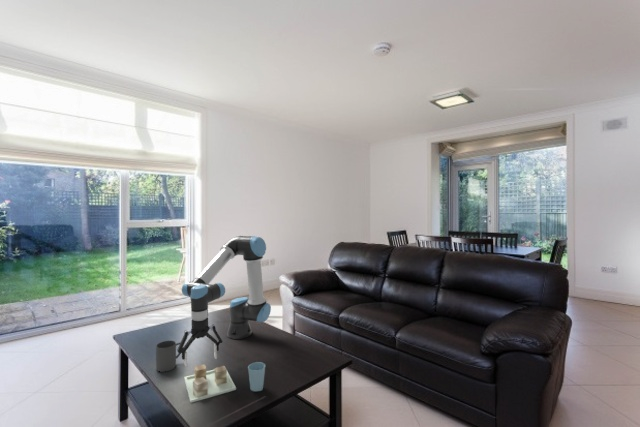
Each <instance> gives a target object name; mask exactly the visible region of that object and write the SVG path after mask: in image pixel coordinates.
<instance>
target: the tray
mask: <svg viewBox="0 0 640 427" xmlns="http://www.w3.org/2000/svg"><path fill="white" fill-rule="evenodd" d="M183 379H184V380H183V381H184V384H185V388H186V390H187V396H188V398H189V402H190V404H192V403H195V402H198V401H202V400H205V399H206V400H207V399H209V398H212V397H216V396H219V395H222V394H227V393H229V392H233V391H236V390H237V387H236V385H235V383H234V381H233V379H232V377H231V375H230V373H229V372H228V371H227V383H224V384H220V385H216V383H215V368H213V369H212V370H206V380H207V381H208V395H204V396H201V397H197V398H196V397H195V396H194V395H193V381H194V380H195V373H194V374H191V375H187V376H183Z"/></svg>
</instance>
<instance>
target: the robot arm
mask: <svg viewBox="0 0 640 427" xmlns="http://www.w3.org/2000/svg"><path fill="white" fill-rule="evenodd" d="M266 251H267V244H266V242H265V240H264V239H263V237H261V236H255V235H254V236H253V235H252V236H251V235H239V236H235V237H233V238H231V239H229V240H228V241H226V243H224V244H223V245H222V246H221V247H220V249H219V252H218V253H217V254H215V256H214V257H213V258H212V260H210V261H209V263H207V265H206V266H205V267H204V268H203V269H202V270H201V271H200V272H199V273H198V274H197V275H196V277H195V278H194V279H193V280H192V281H186V282H184V283H183V285H182V288H181V292H182V295H183V296H184V297H188V298H190V308H191V309H190V310H191V311H190V313H191V314H190V315H191V317H190V318H191V321H190V322H191V329H190V330H187V329H185V330H184V333H183V335H182V336H183V337H182V339H181V341H180V342H179V343H180V345H178V347H177V348H176V352H177V354H178V353H181V359H182V361H183V360H184V361H183V362H184V367H185V368H186V367H188V358H187V356H188V355H187V354H188V352H187V350H188V349H189V348H190V346H191V345H192V343H193V342H194V341H195V340H196V339H202V338H205V337H207V338H208V339H209V340H211V341H212V342H213V357H214V359H215V360H217V359H218V353H217V352H219V351H220V348H219V347H220V344H222V343H223V339H222V338H221V336H220V335H219V333H218V332H217V329H216V325H215V324H212V325H210V326H209V303H211V302H213V301H216V300H219V299H220V298H222V297H224V296H225V293H226V286H224V284H223V283H221V282H217V283H214V284H213V283H212V284H210V283H211V282H212V281H213V280H214V278H215V277H216V276H217V275H218V274H219V273H220V272H221V271H222V269H223V268H224V267H225V266H226V265H227V263H229V261H230V260H233V259H234V258H235V257H236V256H243V261H245V263H246V272H247V273H246V274H247V284H248V295H249V296H248V297H246V296H243V297H236V298H234V299H232V300H230V304H229V325H228V329H227V332H226V334H227V338H229V339H234V340H240V339H242V340H243V339H246V338H249V337H250V336H251V335H252V327H251V325H250V322H256V323H265V322H266V321H267V320H268V319H269V317H270V314H271V310H272V308H271V304H270V303H269V302H267V298H266V297H265V296H264V284H263V274H262V263H261V262H262V259H263V258H264V256H265V254H266ZM209 331H212V332H213V333H214V335H215V336H216V338H217V339H218V340H217V339H216V338H215V337H214V336H212V335H211V334H210V333H209ZM189 336H190V337H189ZM188 337H189V339H188ZM187 339H188V340H187Z"/></svg>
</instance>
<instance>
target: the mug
mask: <svg viewBox="0 0 640 427" xmlns="http://www.w3.org/2000/svg"><path fill="white" fill-rule="evenodd" d="M180 343H181V342H176V341H175V340H165V341H161V342H159V343H157V344H156V347H155V349H156V350H155V366H156V367H155V370H156V371H157V372H159V371H160V372H159V373H165V371H166V372H169V371H172V370H174V369H175V368H176V366H177V359H178V358H179V357H180V356H181V355H182V353H178V352H177V346H179V345H180Z"/></svg>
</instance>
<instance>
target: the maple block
mask: <svg viewBox="0 0 640 427" xmlns="http://www.w3.org/2000/svg"><path fill="white" fill-rule="evenodd" d="M193 395H194V396H195V397H196V398H197V397H201V396H204V395H208V381H207V380H206V379H205V378H204V377H202V378H199V379H197V380H194V381H193Z"/></svg>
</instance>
